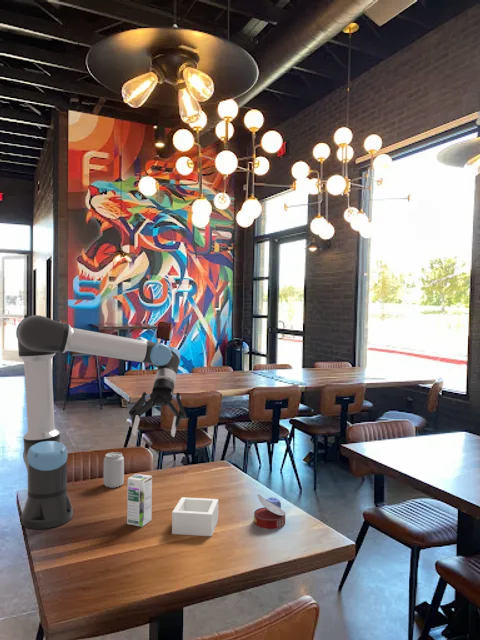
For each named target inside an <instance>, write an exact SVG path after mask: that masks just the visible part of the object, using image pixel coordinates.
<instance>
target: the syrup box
mask: <svg viewBox="0 0 480 640" xmlns="http://www.w3.org/2000/svg"><path fill="white" fill-rule="evenodd" d="M126 490H127V501H126V502H127V513H126V514H127V515H126V516H127V517H126V524H127V525H132V526H135V527H140V528H143V527H144V526H146V525H147V524H148V523H150V522H151V521H152V515H153V514H152V511H153V509H152V506H153V505H152V504H153V503H152V502H153V501H152V500H153V491H152V490H153V475H149V474H141V473H135V474H132V475H131V476H129V477H128V478H127V489H126Z"/></svg>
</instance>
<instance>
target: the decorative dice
mask: <svg viewBox="0 0 480 640" xmlns="http://www.w3.org/2000/svg"><path fill="white" fill-rule="evenodd" d="M266 500H267V501H269V502H271V503H272V504H274V505H276V506H277V507H279V508H280V509H281V510H282V508H281V507H282V503H281V501H280V499H279V498H277V497H268V498H266Z"/></svg>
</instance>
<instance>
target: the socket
mask: <svg viewBox="0 0 480 640" xmlns="http://www.w3.org/2000/svg"><path fill="white" fill-rule="evenodd" d="M218 520H219V499H218V498H206V497H205V498H202V497H187V496H186V497H184V496H183V497H182V496H181V498H180V499H179V501H178V502H177V504H176V506H175V507H174V509H173V510H172V512H171V534H172V535H184V536H185V535H186V536H202V537H213V534H214V531H215V529H216V526H217V524H218V522H219V521H218Z"/></svg>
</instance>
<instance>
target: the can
mask: <svg viewBox="0 0 480 640" xmlns="http://www.w3.org/2000/svg"><path fill="white" fill-rule="evenodd" d="M124 478H125V457H124V456H123V453H122V452H119V451H118V452H117V451H115V452H114V451H113V452H108V453H106V454H105V457H103V485H104V486H105V487H106V488H108V487H109V489H116V487H117V488H119V486H120V487H121V486H122V485H123V484H124V483H125V481H124V480H125V479H124Z"/></svg>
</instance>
